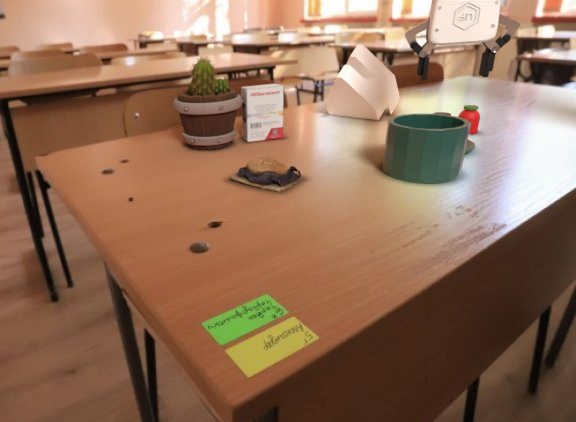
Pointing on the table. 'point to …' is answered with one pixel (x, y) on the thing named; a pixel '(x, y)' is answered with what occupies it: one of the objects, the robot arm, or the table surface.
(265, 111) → the ink box
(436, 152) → the tin
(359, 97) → the slotted wedge
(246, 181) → the bread roll
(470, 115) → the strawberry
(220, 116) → the flowerpot
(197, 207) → the table surface
